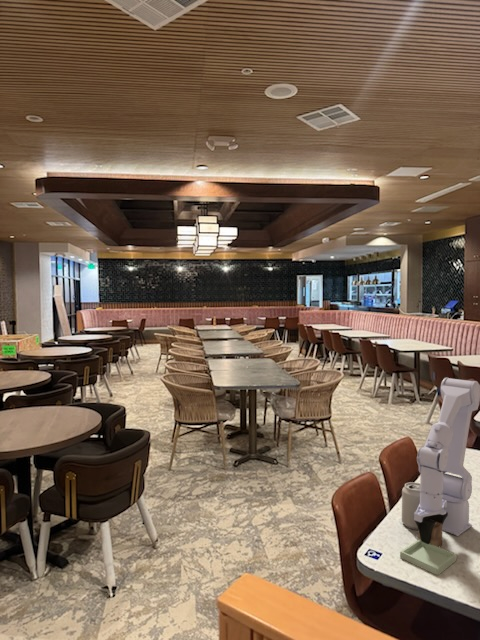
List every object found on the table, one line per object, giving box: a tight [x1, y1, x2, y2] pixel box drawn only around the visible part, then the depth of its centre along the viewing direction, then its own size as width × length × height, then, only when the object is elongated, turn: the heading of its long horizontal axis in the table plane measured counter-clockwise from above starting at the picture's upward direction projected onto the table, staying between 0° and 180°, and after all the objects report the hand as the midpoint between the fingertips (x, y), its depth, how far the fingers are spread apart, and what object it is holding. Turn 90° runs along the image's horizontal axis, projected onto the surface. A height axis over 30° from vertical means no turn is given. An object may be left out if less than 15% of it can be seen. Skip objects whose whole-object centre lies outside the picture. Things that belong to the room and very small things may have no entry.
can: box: [401, 481, 420, 531], centre depth 136 cm, size 8×8×12 cm
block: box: [417, 519, 443, 548], centre depth 125 cm, size 4×4×6 cm
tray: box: [399, 539, 457, 576], centre depth 118 cm, size 10×10×2 cm
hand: (429, 539), depth 125 cm, fingers open, 4 cm apart
